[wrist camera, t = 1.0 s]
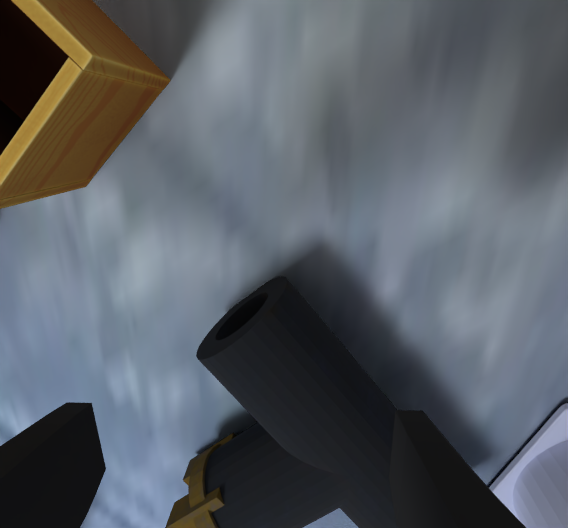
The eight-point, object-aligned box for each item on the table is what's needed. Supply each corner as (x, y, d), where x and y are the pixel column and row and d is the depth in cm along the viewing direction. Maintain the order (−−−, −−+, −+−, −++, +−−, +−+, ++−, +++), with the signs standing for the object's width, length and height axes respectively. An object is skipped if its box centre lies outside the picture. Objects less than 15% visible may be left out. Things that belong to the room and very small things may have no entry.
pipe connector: (292, 658, 20) (69, 461, 17) (296, 552, 25) (125, 385, 22) (504, 566, 17) (283, 309, 14) (460, 467, 22) (290, 262, 19)
